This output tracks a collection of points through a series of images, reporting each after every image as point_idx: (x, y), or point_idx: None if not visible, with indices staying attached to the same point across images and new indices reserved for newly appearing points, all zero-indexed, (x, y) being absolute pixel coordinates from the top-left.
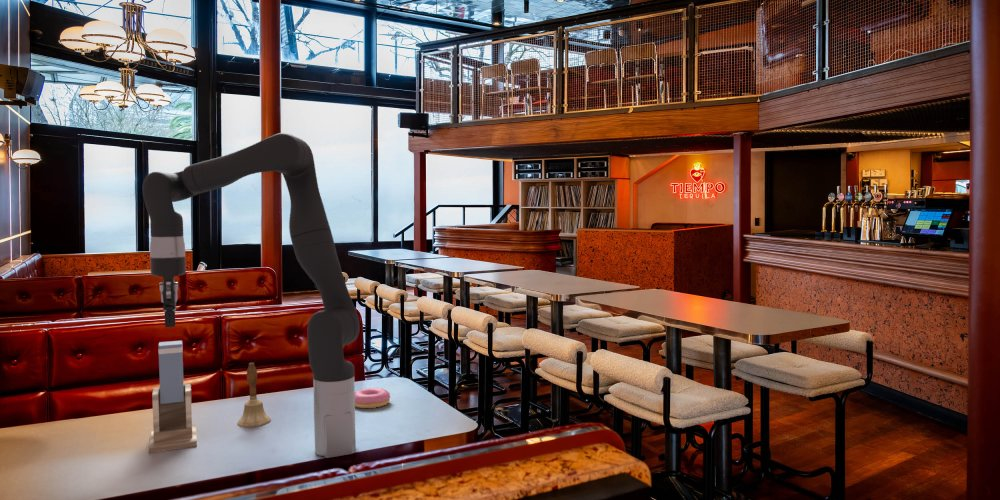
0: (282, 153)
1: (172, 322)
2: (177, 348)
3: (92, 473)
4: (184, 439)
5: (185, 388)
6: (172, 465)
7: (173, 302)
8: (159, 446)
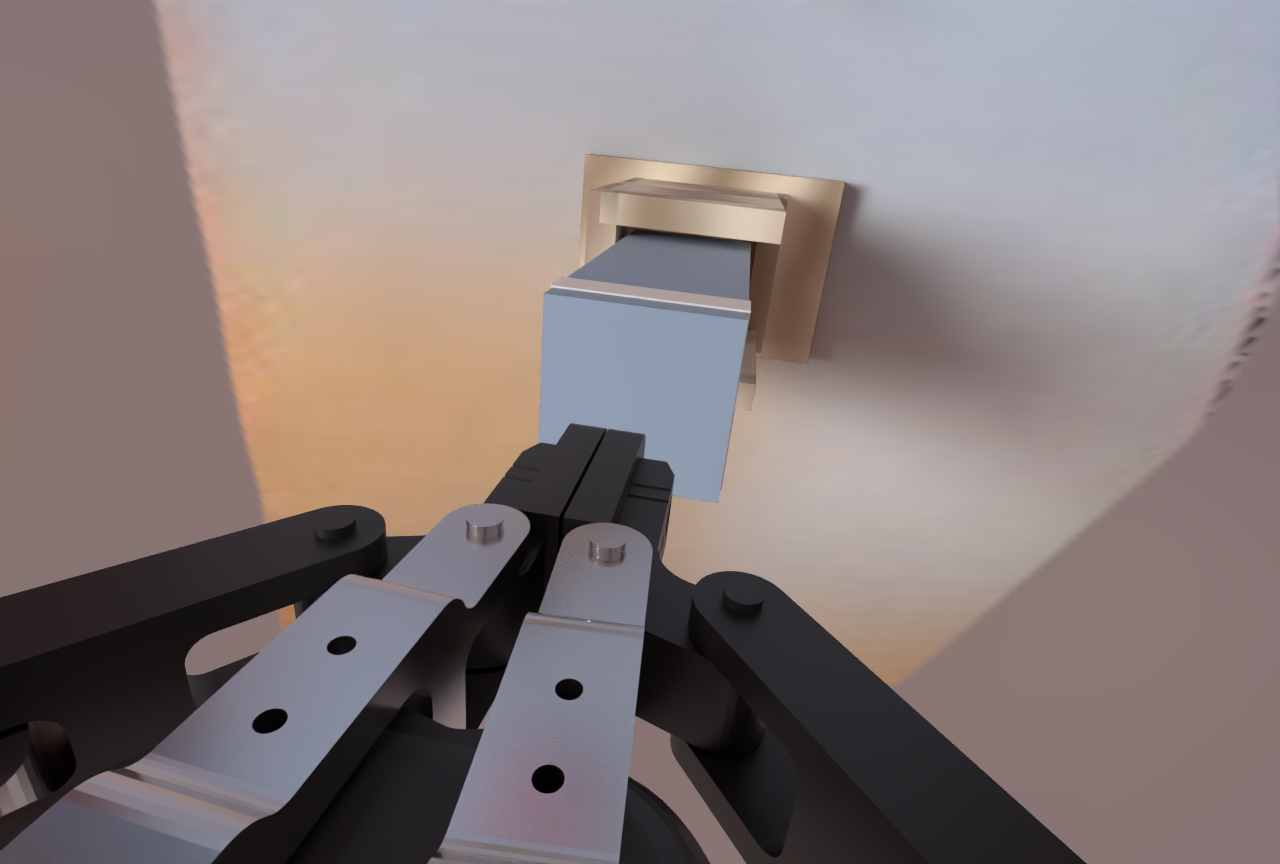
0: None
1: (672, 486)
2: (743, 349)
3: (897, 523)
4: (786, 227)
5: (700, 233)
6: (1019, 297)
7: (918, 735)
8: (814, 327)
